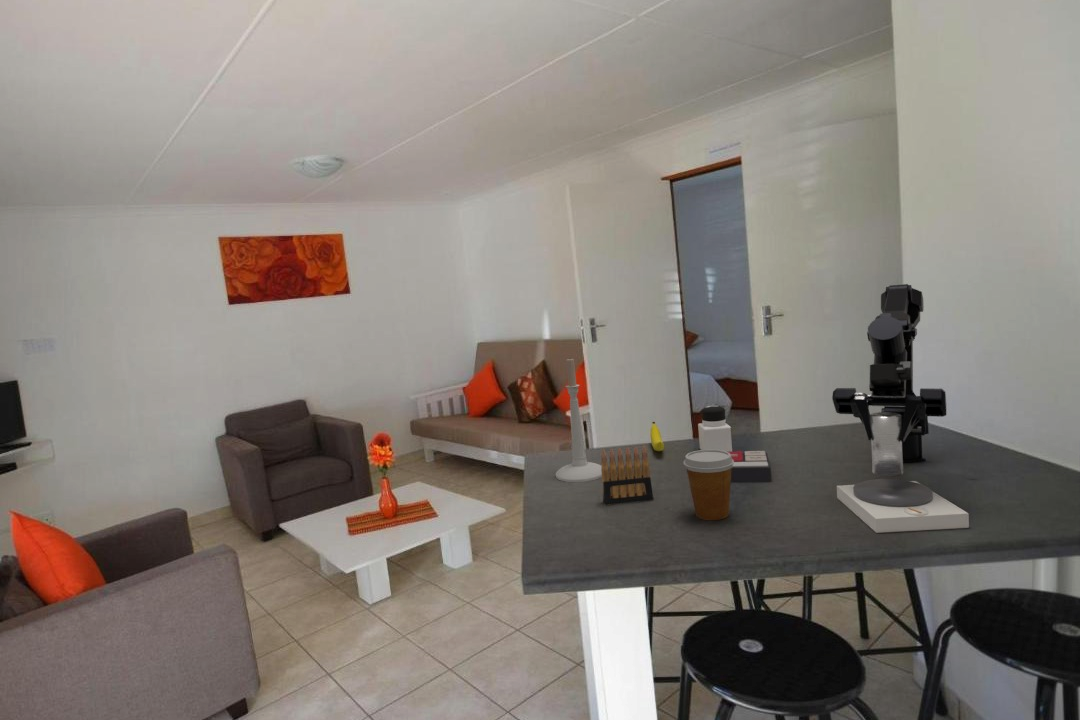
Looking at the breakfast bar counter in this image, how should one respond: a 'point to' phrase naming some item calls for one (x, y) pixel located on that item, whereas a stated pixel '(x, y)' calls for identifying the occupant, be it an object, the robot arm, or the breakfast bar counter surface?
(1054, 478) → the breakfast bar counter surface
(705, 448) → the medicine bottle
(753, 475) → the calculator
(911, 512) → the kitchen scale
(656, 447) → the banana
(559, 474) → the candlestick
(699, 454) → the disposable coffee cup
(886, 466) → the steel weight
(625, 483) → the ammunition clip
